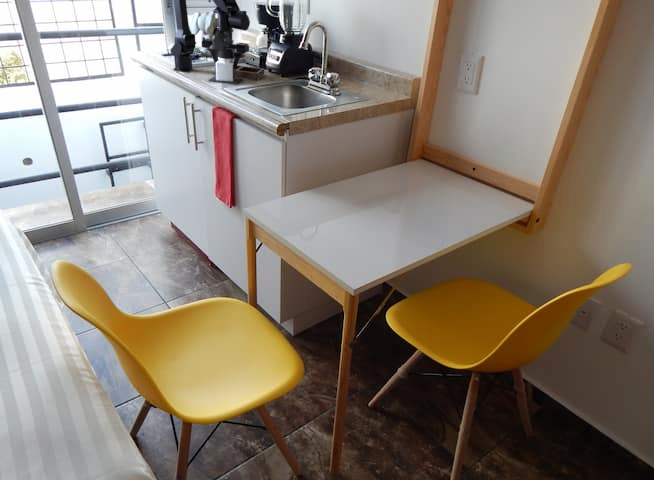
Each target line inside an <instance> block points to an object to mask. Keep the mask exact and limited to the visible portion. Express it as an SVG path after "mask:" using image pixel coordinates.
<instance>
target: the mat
mask: <svg viewBox="0 0 654 480" xmlns="http://www.w3.org/2000/svg"><path fill="white" fill-rule="evenodd" d="M208 81H209V82H216V83H222V84H229V85H238V84H240V83H241V82H243V81H244V79H241V78H235V80H234V81H233V82H228V81H217V80H216V75H215V76H213V77H211V78H210V79H208Z"/></svg>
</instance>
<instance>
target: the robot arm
mask: <svg viewBox="0 0 654 480" xmlns="http://www.w3.org/2000/svg"><path fill="white" fill-rule="evenodd" d="M211 1H212V2H213V3H214V5H215V6H216V7H215V8H214V9H213V10H212V11H213V12H214V13H215V14H217V18H218V27H217V28H218V30H217V34H216V36H215V37H214V39H209V38H207V39H204V40H202V42H201V48H202V49H203V48H207V50H208V51H209V52H210V53H211V54H212V59H213V62H214V65H215V66H216V62H217V61H218V60H219V59H218V49H221V50H225V48H229V49H235V50H236V52H234V56H233V60H234V69H236V67H237V65H239V64H238V63H239V61H240V59H241V57H240V56H241V55H242V54H243V53H246V54H247V53H248V52H250V45H249V43H246V42H238V43H234V39H233V33H234V30H239V31H245V32H246V31H248V29H249V28H250V25H251V20H250V17H249V15H248V14H247V10H241V9H240V7H239V4H238V3H237V0H211ZM173 7H174V14H175V23H176V33H175V35H174V44H173V46H172V47H171V48H170V54H171V56H173V57H174V58H173V59H174V68H173V71H177V72H186V73H188V72H190V71H192V70H194V67H193V59H192V58H191V57H192V56H193V52H194V50H195V49H194V48H195V45H197V41H196V35H195V34H193V33H192V31H191V29H190V24H189V23H190V22H189V15H188V7H187V0H173Z"/></svg>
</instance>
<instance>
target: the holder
mask: <svg viewBox="0 0 654 480" xmlns="http://www.w3.org/2000/svg"><path fill="white" fill-rule="evenodd" d="M214 75H215V76H216V66H215V67H214ZM263 77H265V68H261V67H253V66H248V65H247V66H246V65H239V64H237V67H236V78H239V79H243V80H248V81H249V80H250V81H259V80H261V79H262V78H263Z"/></svg>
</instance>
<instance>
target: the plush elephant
mask: <svg viewBox="0 0 654 480" xmlns="http://www.w3.org/2000/svg"><path fill="white" fill-rule="evenodd" d="M216 14H217V13H214V12H213V10H211V11H205V12H203V13H202V14H201V13H200V11H196V12H194V13H193V14H192V17H191V19H190V24H189V30H190V31H191V33H192V34H195V36H197V34H198V33H200V31H201V32H202V34H201V36H200V42H201V43H202V40H204V39H207V38H209V39H214V37H215V36H216V34H217V30H218V17H216ZM200 48H201V46H199V47H197V44H195V48H194V52H200V53H201V54H200V55H199V57H201V56H203V57H204V56H205V57H210V58H211V57H212V54H211V53H210V52H209V51H208V50H207V48H203V47H202V49H200ZM228 49H229V48H228ZM218 50H219V49H218ZM231 50H233V57H234V52H236V50H235V49H231ZM244 56H245V55H244V53H243V54H242V55H241V56H240V58H242V57H244ZM212 58H213V57H212Z"/></svg>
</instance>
